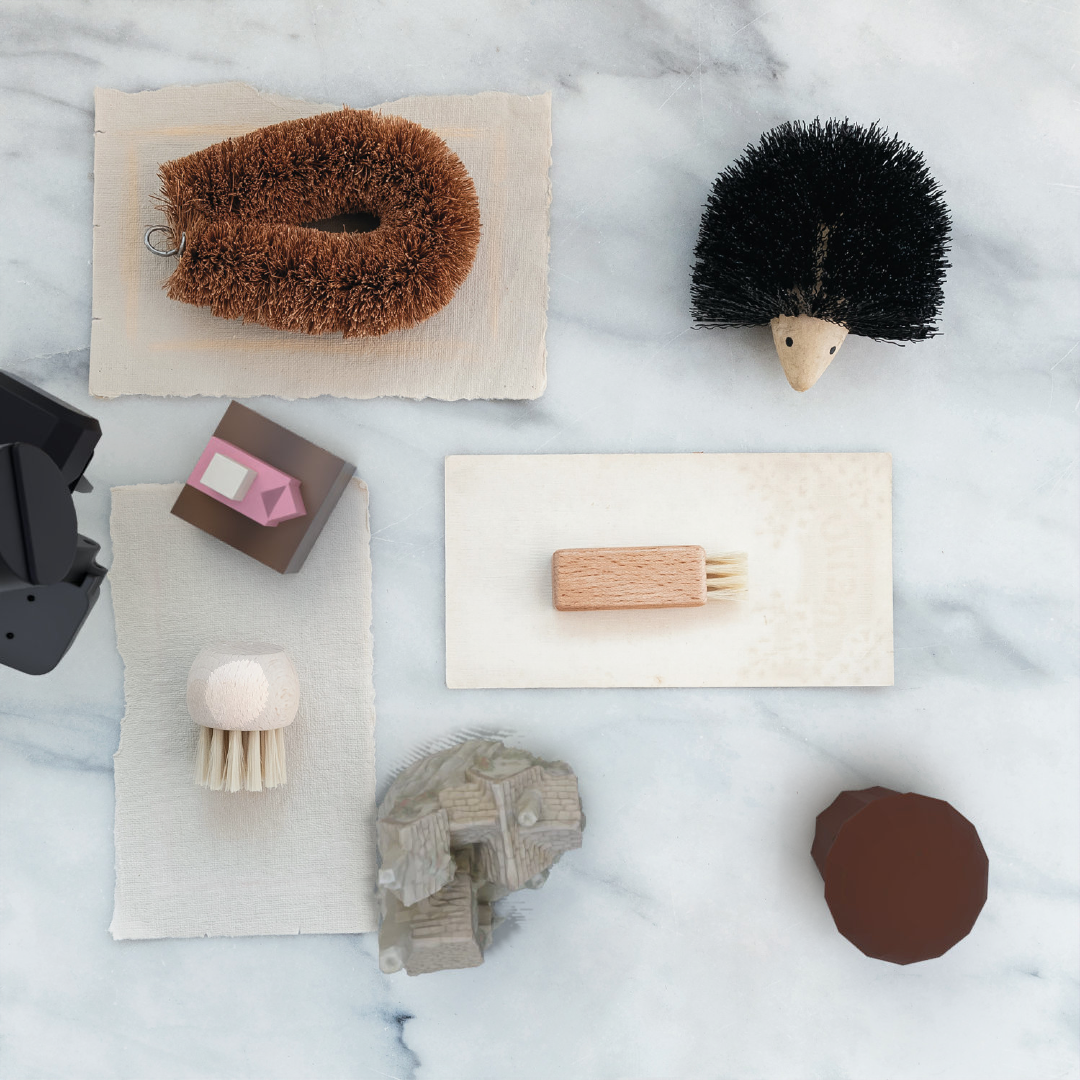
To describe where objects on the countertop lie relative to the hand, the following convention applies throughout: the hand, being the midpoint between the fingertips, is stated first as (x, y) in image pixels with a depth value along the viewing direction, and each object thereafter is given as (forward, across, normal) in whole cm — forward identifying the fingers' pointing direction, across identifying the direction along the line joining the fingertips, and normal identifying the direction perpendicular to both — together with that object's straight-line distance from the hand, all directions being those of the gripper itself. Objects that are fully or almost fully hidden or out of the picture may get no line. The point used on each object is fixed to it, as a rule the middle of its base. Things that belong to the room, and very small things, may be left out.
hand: (48, 552), depth 51 cm
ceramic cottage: (+12, -7, -33) cm, 36 cm away
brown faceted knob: (+12, +7, -59) cm, 61 cm away
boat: (+7, +9, -7) cm, 13 cm away
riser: (+12, +9, -7) cm, 17 cm away
